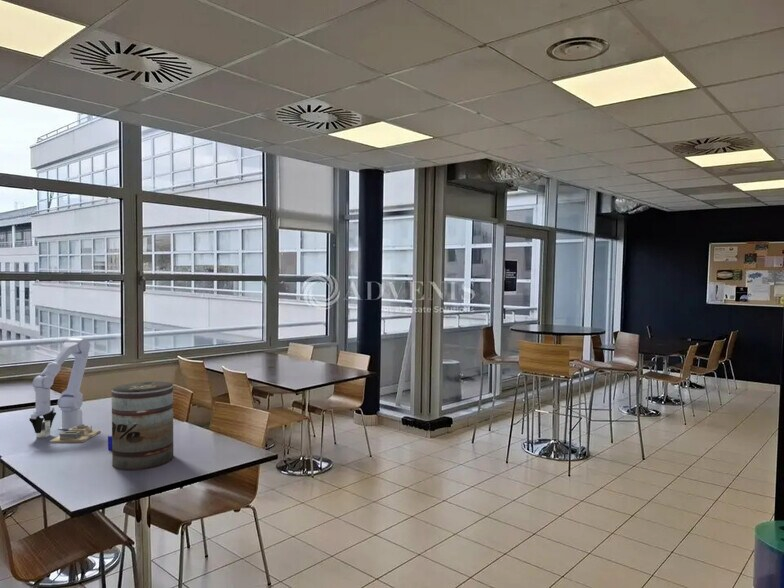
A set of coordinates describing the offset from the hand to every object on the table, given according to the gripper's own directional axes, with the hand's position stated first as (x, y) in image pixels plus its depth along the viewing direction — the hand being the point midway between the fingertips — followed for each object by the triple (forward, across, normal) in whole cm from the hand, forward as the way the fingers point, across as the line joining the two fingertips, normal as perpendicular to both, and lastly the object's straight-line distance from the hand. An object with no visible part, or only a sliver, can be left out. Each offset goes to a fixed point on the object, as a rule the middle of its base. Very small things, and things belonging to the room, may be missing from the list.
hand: (43, 430), depth 250 cm
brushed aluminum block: (+3, 0, 0) cm, 3 cm away
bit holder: (+3, +2, +16) cm, 16 cm away
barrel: (+3, +35, +61) cm, 70 cm away
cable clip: (+3, +15, +43) cm, 45 cm away
